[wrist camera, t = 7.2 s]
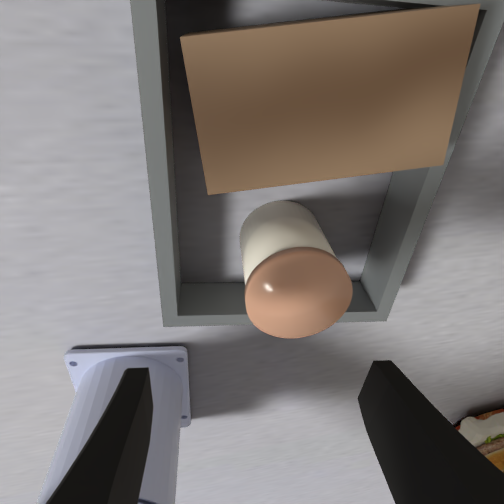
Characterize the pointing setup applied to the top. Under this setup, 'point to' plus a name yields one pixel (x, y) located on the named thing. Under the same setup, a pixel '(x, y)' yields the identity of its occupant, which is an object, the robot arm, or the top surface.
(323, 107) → the block
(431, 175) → the tote
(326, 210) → the top surface
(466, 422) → the burger
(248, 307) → the jar
